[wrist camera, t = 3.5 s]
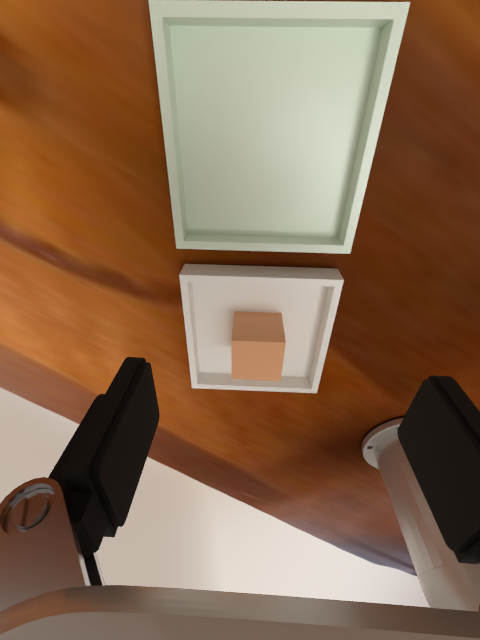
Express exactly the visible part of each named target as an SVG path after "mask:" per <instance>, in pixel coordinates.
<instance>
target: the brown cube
mask: <svg viewBox="0 0 480 640" xmlns="http://www.w3.org/2000/svg"><path fill="white" fill-rule="evenodd" d="M285 345H286V340H285V333H284V326H283V319H282V313H268V312H239V311H235V312H234V321H233V331H232V379H242V380H267V381H281V375H282V368H283V360H284V353H285Z"/></svg>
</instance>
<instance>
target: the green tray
mask: <svg viewBox="0 0 480 640" xmlns="http://www.w3.org/2000/svg"><path fill="white" fill-rule="evenodd" d="M409 5H410V2H327V1H207V0H149V9H150V18H151V27H152V36H153V45H154V54H155V63H156V72H157V80H158V89H159V98H160V107H161V116H162V125H163V134H164V143H165V152H166V161H167V170H168V179H169V188H170V197H171V206H172V215H173V223H174V232H175V241H176V249H206V250H240V251H274V252H308V253H342V254H350V252H351V248H352V244H353V240H354V236H355V231H356V227H357V223H358V219H359V215H360V210H361V206H362V202H363V198H364V194H365V190H366V185H367V181H368V177H369V173H370V169H371V164H372V160H373V156H374V152H375V148H376V143H377V139H378V135H379V131H380V127H381V123H382V118H383V114H384V110H385V106H386V102H387V97H388V93H389V89H390V85H391V81H392V76H393V72H394V68H395V64H396V60H397V56H398V51H399V47H400V43H401V39H402V35H403V30H404V26H405V22H406V18H407V14H408V10H409Z"/></svg>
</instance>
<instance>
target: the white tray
mask: <svg viewBox="0 0 480 640" xmlns="http://www.w3.org/2000/svg"><path fill="white" fill-rule="evenodd" d="M179 277H180V286H181V295H182V304H183V313H184V322H185V331H186V340H187V349H188V357H189V366H190V375H191V384H192V388H201V389H226V390H250V391H274V392H299V393H317V390H318V386H319V382H320V378H321V374H322V370H323V365H324V361H325V357H326V353H327V349H328V344H329V340H330V336H331V332H332V328H333V323H334V319H335V315H336V311H337V307H338V303H339V298H340V294H341V290H342V286H343V282H344V279H343V278H342V276H341V274H340V272H339V270H338V269H337V268H306V267H274V266H241V265H208V264H184V266H183V268H182V270H181V272H180V274H179ZM235 311H239V312H268V313H282V319H283V326H284V333H285V340H286V345H285V353H284V360H283V368H282V375H281V381H267V380H242V379H232V331H233V321H234V312H235Z"/></svg>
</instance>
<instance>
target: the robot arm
mask: <svg viewBox="0 0 480 640" xmlns="http://www.w3.org/2000/svg"><path fill="white" fill-rule="evenodd" d="M158 422H159V408H158V402H157V397H156V391H155V386H154V380H153V374H152V369H151V364H150V363H148V362H146V360H145V359H144V358H136V357H127V358H126V359H125V360H124V362H123V364H122V365H121V367H120V369H119V371H118V372H117V374H116V376H115V378H114V380H113V381H112V383H111V385H110V387H109V388H108V390H107V392H106V394H100V395H98V396H97V397H96V399H95V400H94V401H93V403H92V405H91V407H90V408H89V410H88V412H87V413H86V415H85V417H84V418H83V420H82V422H81V423H80V425H79V427H78V428H77V430H76V432H75V434H74V435H73V437H72V439H71V440H70V442H69V444H68V445H67V447H66V449H65V450H64V452H63V454H62V456H61V457H60V459H59V461H58V462H57V464H56V465H55V467H54V469H53V470H52V472H51V474H50V476H49V477H48V478H45V477H43V478H36V479H33V480H30V481H28V482H25V483H23V484H22V485H20V486H19V487H17V488H16V489H14V490H13V491H12V492H11V493H10V494H9V495H7V496H6V497H5V498H4V500H3V501H2V502H1V504H0V640H480V412H479V410H478V409H477V408H476V407H475V405H474V404H473V403H472V401H471V400H470V399H469V397H468V396H467V395H466V394H465V392H464V391H463V390H462V388H461V387H460V386H459V385H458V383H457V382H456V381H455V380H454V379H453V378H452V377H448V376H430V377H429V378H428V379H427V380H424V381H423V383H422V385H421V386H420V388H419V390H418V392H417V394H416V396H415V398H414V399H413V401H412V403H411V405H410V407H409V409H408V411H407V413H406V414H405V416H404V418H399V419H395V420H392V421H389V422H386V423H384V424H382V425H380V426H378V427H376V428H375V429H373V430H372V431H371V432H370V433H369V434H368V435H367V436H366V437H365V438H364V440H363V442H362V447H361V449H362V453H363V456H364V459H365V460H366V461H367V463H369V464H370V465H371V466H373V467H375V468H377V469H379V470H380V472H381V475H382V478H383V481H384V484H385V486H386V489H387V492H388V495H389V498H390V500H391V503H392V506H393V509H394V512H395V514H396V517H397V520H398V523H399V526H400V528H401V531H402V534H403V537H404V540H405V542H406V545H407V548H408V551H409V554H410V556H411V559H412V562H413V565H414V568H415V570H416V573H417V576H418V579H419V581H420V584H421V587H422V590H423V592H424V595H425V597H426V600H427V602H428V604H429V605H430V607H431V608H427V607H415V606H403V605H391V604H378V603H366V602H353V601H340V600H328V599H327V600H326V599H314V598H302V597H289V596H276V595H263V594H248V593H235V592H220V591H208V590H207V591H206V590H194V589H180V588H160V587H142V586H121V585H105V583H104V579H103V576H102V572H101V570H100V566H99V562H98V559H97V555H96V551H97V550H98V549H99V547H100V544H101V542H102V539H103V536H106V537H115V534H116V531H117V528H118V526H123V525H124V523H125V520H126V518H127V515H128V512H129V509H130V506H131V503H132V500H133V497H134V494H135V491H136V488H137V485H138V482H139V479H140V476H141V473H142V470H143V467H144V464H145V461H146V458H147V455H148V452H149V449H150V446H151V443H152V440H153V437H154V434H155V431H156V428H157V425H158Z"/></svg>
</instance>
